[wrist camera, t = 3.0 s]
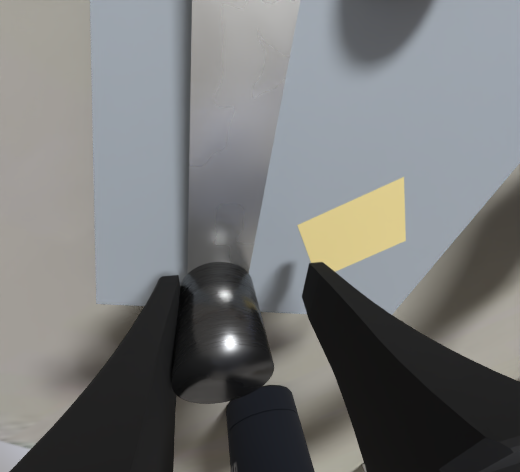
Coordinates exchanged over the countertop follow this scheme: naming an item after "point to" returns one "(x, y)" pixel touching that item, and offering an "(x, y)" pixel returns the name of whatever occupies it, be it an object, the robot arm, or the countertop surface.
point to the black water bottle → (266, 433)
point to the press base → (311, 142)
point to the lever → (229, 193)
